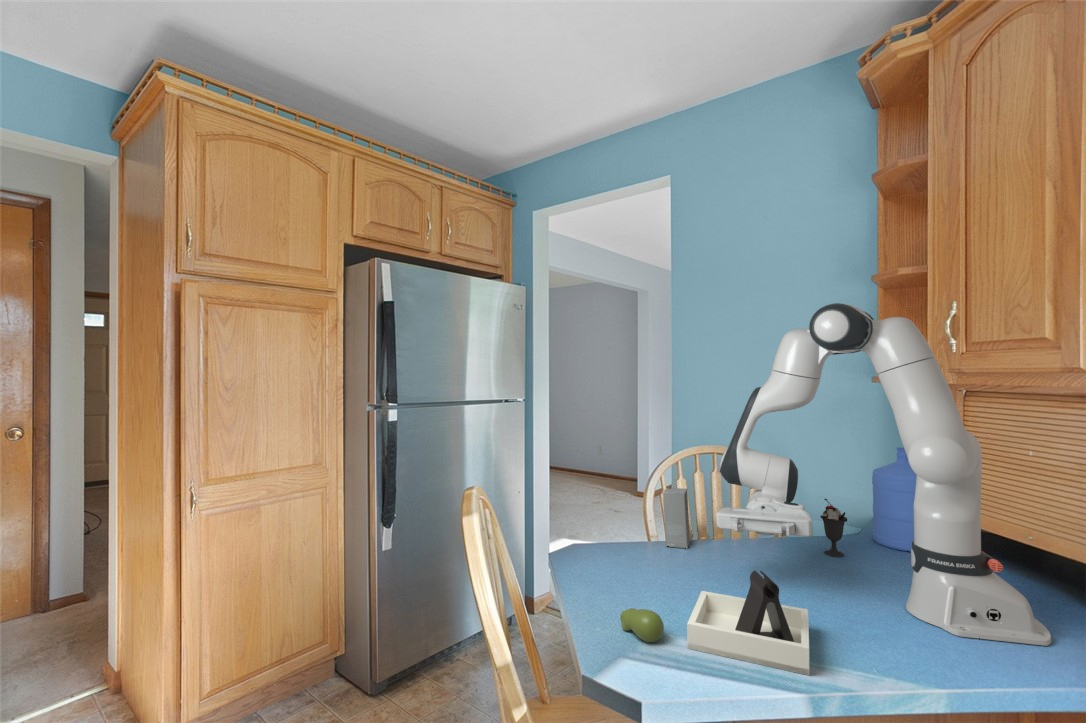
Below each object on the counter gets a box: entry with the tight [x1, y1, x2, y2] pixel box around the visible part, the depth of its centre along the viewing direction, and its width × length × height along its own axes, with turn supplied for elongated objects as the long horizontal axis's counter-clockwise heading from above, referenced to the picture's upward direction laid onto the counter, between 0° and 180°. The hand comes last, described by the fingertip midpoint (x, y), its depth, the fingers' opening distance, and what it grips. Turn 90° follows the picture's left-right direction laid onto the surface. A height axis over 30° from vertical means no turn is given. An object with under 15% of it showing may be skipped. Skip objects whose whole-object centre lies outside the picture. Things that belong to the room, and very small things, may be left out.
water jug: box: [871, 447, 917, 553], centre depth 154 cm, size 16×16×28 cm
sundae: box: [820, 498, 848, 558], centre depth 146 cm, size 7×7×15 cm
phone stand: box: [735, 569, 794, 642], centre depth 97 cm, size 9×6×12 cm, turn 89°
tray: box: [686, 590, 811, 677], centre depth 99 cm, size 20×16×4 cm
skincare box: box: [662, 487, 691, 550], centre depth 155 cm, size 8×7×16 cm
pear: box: [619, 608, 665, 643], centre depth 102 cm, size 6×5×10 cm
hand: (761, 530), depth 114 cm, fingers open, 8 cm apart
